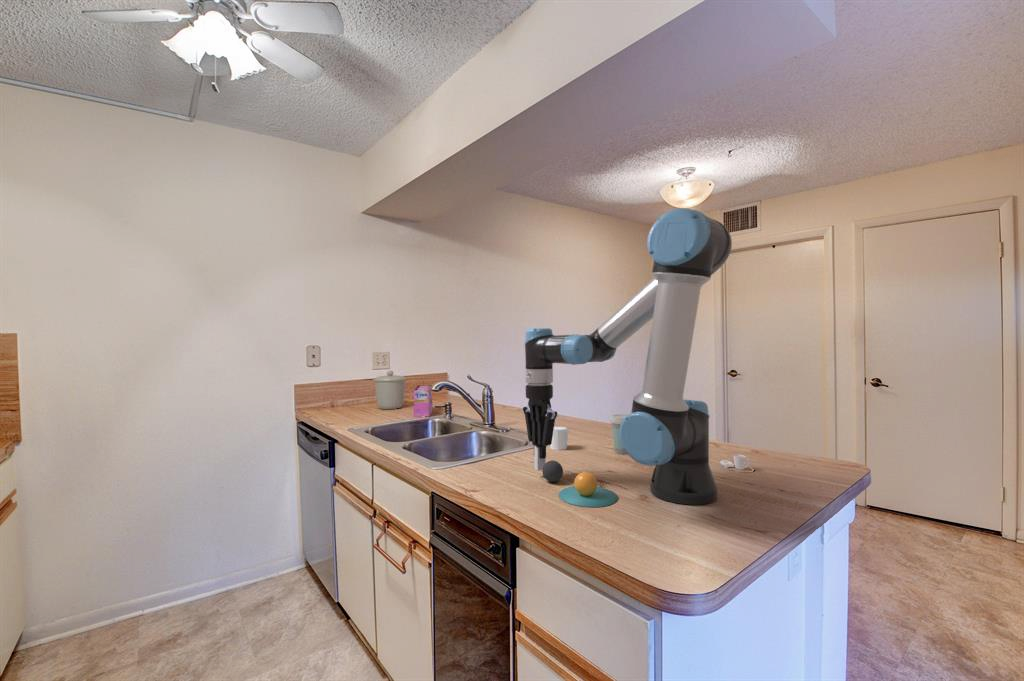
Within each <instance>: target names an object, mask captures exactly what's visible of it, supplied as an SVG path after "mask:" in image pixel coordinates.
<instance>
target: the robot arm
mask: <svg viewBox="0 0 1024 681" xmlns="http://www.w3.org/2000/svg"><path fill="white" fill-rule="evenodd" d="M646 240H647V241H646V242H647V243H646V244H647V246H646V247H647V252H648V253H649V254H650V256H651V258H652V260H653V265H652V271H651V274H652V279H650V281H648V282H647V283H646V284H645V285H644V286H643V287H641V288H640V289H639V290H638V291H637V292H636V293H635V294H634V295H633V296H632V297H631V298H630V299H628V300H627V301H626V302H625V303H624V304H623V305H622V306H620V308H618V310H616V311H615V312H614V313H613V314H612V315H611V316H610V317H608V319H606V320H605V321H604V322H603V323H602V324H600V326H599V327H597V328H596V329H595V330H594V331H593V332H592V333H589V334H563V335H562V334H561V335H559V334H558V335H554V334H553V330H552V328H550V327H549V328H547V327H546V328H545V327H544V328H543V327H540V328H536V327H535V328H528V329H527V330H526V331H525V335H524V336H525V340H524V352H525V353H524V355H525V356H524V357H525V383H526V385H525V398H526V399H528V401H527V406H523V407H522V411H523V413H524V418H525V419H524V420H525V426H526V430H527V431H526V432H527V439H528V441H529V442H531V444H532V445H533V456H534V457H533V458H534V470H535V471H537V472H538V471H542V469H543V466H544V464H545V463H546V458H547V447H548V446H550V445H551V443H552V437H553V430H554V427H555V423H556V419H557V417H558V412H557V411H554V410H553V409H552V404H551V399H553V397H554V389H553V388H554V386H553V384H552V383H553V382H554V380H553V379H554V376H553V373H554V369H553V365H554V364H563V365H573V366H574V365H585V364H587V363H599V362H600V363H602V362H605V361H609V360H611V359H612V358H614V356H615V354H616V352H617V348H619V347H620V346H621V345H622V344H623V343H625V342H626V341H627V340H628V339H629V338H631V337H632V336H633V335H634V334H635V333H637V332H638V331H639V330H640V329H642V328H643V327H644V326H645V325H647V323H648V322H650V321H652V322H651V328H650V333H649V340H648V345H647V346H648V348H647V355H646V361H645V365H644V366H645V367H644V373H643V382H642V385H641V386H642V387H641V391H640V392H638V393H637V394H635V395H634V396H633V400H632V406H631V412H630V413H629V414H627V415H628V416H627V417H626V418H625V419H624V420H623V421H622V423H621V426H620V431H619V434H620V440H621V444H622V446H623V448H624V449H625V450H626V452H627V455H628V456H629V457H630V458H631V459H632V460H634V462H636V463H638V464H640V465H643V466H648V467H654V466H655V467H654V469H653V472H652V476H651V479H650V482H649V483H650V486H649V487H650V489H649V490H650V493H651V494H652V495H653V496H654V497H656V498H659V499H661V500H663V501H668V502H670V503H674V504H682V505H690V506H691V505H693V506H694V505H696V506H698V505H706V504H707V505H708V504H711V503H714V502H715V501H717V499H718V487H717V485H716V482H715V479H714V475H713V472H712V470H711V466H710V462H709V461H710V456H709V455H710V453H709V452H710V450H709V449H710V436H709V435H710V432H709V430H710V429H709V428H710V424H709V423H710V420H709V419H710V414H709V406H708V404H707V403H706V402H705V401H702V400H692V399H684V393H685V392H684V391H685V386H686V379H687V374H688V368H689V362H690V357H691V356H690V355H691V351H692V350H691V349H692V344H693V337H694V331H695V324H696V321H697V320H696V319H697V315H698V314H697V313H698V308H699V303H700V302H699V300H700V295H701V288H702V287H703V286H704V285H705V284H706V283H708V282H709V281H710V280H711V277H712V276H713V274H715V273H717V271H718V270H719V269H720V268H721V267H722V266H723V265H725V263H726V261H727V260H728V259H729V257H730V255H731V251H732V246H733V242H732V236H731V234H730V231H729V230H728V228H727V227H726V226H725V225H724V224H723V223H722V222H720V221H718V220H716V219H713V218H711V217H709V216H707V215H705V214H704V213H703V212H701V211H700V210H696V209H691V208H684V207H681V208H680V207H679V208H675V209H672V210H669V211H667V212H665V213H664V214H662V215H661V216H660V217H659V218H657V220H656V221H655V222H654V223H653V224H652V226H651V228H650V229H649V232H648V235H647V239H646Z"/></svg>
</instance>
